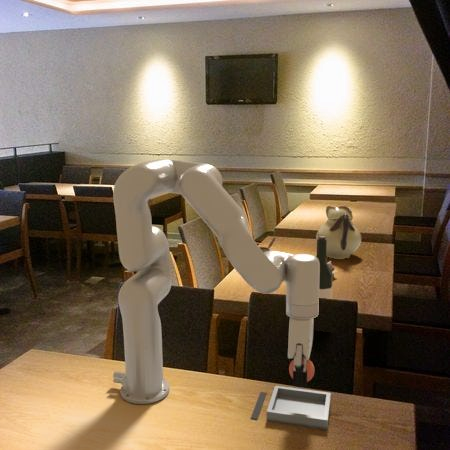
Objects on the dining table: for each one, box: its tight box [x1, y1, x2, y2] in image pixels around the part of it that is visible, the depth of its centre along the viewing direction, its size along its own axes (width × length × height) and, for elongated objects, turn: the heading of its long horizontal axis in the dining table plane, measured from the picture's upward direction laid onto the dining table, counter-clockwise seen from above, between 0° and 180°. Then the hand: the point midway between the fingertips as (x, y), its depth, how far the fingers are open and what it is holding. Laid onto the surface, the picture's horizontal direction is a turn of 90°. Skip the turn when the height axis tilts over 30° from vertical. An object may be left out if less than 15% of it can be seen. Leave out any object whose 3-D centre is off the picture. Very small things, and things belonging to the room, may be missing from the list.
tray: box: [266, 385, 332, 431], centre depth 121 cm, size 14×12×2 cm
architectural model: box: [326, 260, 338, 277], centre depth 221 cm, size 3×7×7 cm, turn 142°
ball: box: [288, 357, 315, 383], centre depth 119 cm, size 6×6×6 cm
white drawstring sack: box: [315, 205, 362, 260], centre depth 254 cm, size 22×24×25 cm
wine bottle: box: [316, 236, 334, 300], centre depth 174 cm, size 8×8×30 cm
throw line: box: [250, 391, 267, 421], centre depth 123 cm, size 2×12×1 cm, turn 165°
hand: (301, 378), depth 119 cm, fingers closed on ball, 5 cm apart
